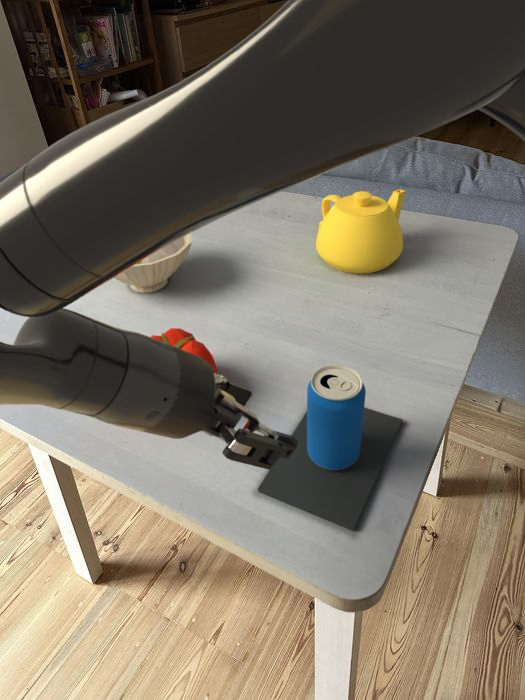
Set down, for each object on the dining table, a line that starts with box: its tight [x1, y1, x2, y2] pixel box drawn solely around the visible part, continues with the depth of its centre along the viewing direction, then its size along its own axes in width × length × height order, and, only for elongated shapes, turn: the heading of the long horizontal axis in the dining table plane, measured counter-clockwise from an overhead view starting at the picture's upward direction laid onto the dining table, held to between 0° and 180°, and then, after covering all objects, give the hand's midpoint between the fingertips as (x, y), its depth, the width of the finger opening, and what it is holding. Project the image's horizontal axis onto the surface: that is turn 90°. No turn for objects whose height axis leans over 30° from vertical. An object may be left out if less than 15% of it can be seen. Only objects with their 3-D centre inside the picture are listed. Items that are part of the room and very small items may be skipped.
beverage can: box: [306, 364, 367, 470], centre depth 63 cm, size 6×6×12 cm
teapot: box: [315, 188, 406, 275], centre depth 103 cm, size 20×19×13 cm
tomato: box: [150, 327, 219, 374], centre depth 75 cm, size 13×12×8 cm
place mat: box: [257, 407, 403, 532], centre depth 67 cm, size 18×12×1 cm, turn 152°
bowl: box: [113, 232, 193, 294], centre depth 98 cm, size 19×19×10 cm
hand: (267, 422), depth 56 cm, fingers open, 8 cm apart
